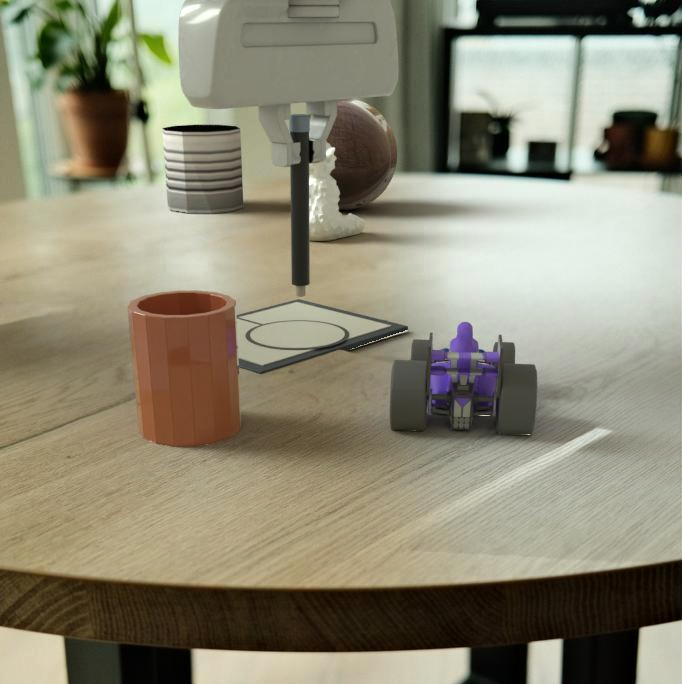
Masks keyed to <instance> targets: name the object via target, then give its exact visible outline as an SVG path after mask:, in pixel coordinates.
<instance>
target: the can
mask: <svg viewBox="0 0 682 684" xmlns="http://www.w3.org/2000/svg"><path fill="white" fill-rule="evenodd" d="M161 129H162V131H161V133H162V143H163V159H164V170H165V173H164V174H165V183H166V184H165V186H166V197H167V198H166V199H167V207H169V208H170V209H169V208H168V209H169V210H170V211H171V210H172V211H171V212H176V211H179V212H178V213H182V212H185V213H184V214H207V215H208V214H220V213H229V212H235V211H238V210H240V209H243V208H244V189H243V188H244V186H243V163H242V162H243V161H242V160H243V159H242V139H241V128H240V127H238V126H236V125H229V124H180V125H172V126H171V125H170V126H166V127H162V128H161Z"/></svg>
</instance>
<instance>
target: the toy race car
mask: <svg viewBox="0 0 682 684" xmlns="http://www.w3.org/2000/svg"><path fill="white" fill-rule="evenodd" d="M433 336H434V333H433V332H429V339H422V338H421V339H420V338H419V339H418V338H414V339H413V340H412V342H411V347H410V348H411V350H410V359H394V361H393V363H392V367H391V375H390V387H389V388H390V389H389V427H390V430H391V429H392V431H403V430H416V431H415V432H424V431H425V430H426V427H427V418H428V416H430V415H434V414H446V415H445V416H447V417H448V419H449V422H450V426H451V430H461V431H463V430H464V431H470V430H471V428H472V425H473V424H472V423H473V420H474V418H476V417H479V416H478V415H491V416H492V418H495V430H497V431H496V433H497V432H498V433H500V434H499V435H503V434H531V435H533V432H534V429H535V422H536V415H537V404H538V403H537V402H538V372H537V371H538V370H537V367H536V365H535V364H533V363H516V344H515V342H514V341H513V342H511V341H503V336H502V334H498V337H497V341H495V342H494V344H493V349H492V351H486V350H484V349H481V348H480V347H479V341H478V340H477V339H475V338H474V329H473V325H472V323H470V322H468V321H461V322H460V323H459V324H458V325H457V327H456V336H455V337H454V338H452V339H451V340H450V341H449V348H448V347H444V348H442V349H433V348H434V347H433V346H434V345H433V339H434V338H433ZM431 413H432V414H431ZM427 415H428V416H427ZM424 429H425V430H424ZM498 433H497V434H498Z"/></svg>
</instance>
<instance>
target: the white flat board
mask: <svg viewBox="0 0 682 684" xmlns="http://www.w3.org/2000/svg"><path fill="white" fill-rule="evenodd" d="M405 330H408V331H409V325H405V324H401V323H396V322H394V321H389V320H384V319H381V318H377V317H373V316H369V315H366V314H365V315H364V314H360V313H356V312H353V311H348V310H344V309H340V308H337V307H331V306H328V305H323V304H320V303H315V302H312V301H308V300H305V299H304V300H303V299H299V298H298V299H293V300H290V301H286V302H282V303H279V304H274V305H271V306H267V307H262V308H259V309H255V310H251V311H247V312H243V313H238V314H237V335H238V357H239V369H243V370H247V371H249V372H252V373H254V374H255V373H256V374H259V375H262V374H265V373H268V372H271V371H275V370H278V369H281V368H284V367H288V366H291V365H294V364H298V363H300V362H304V361H306V360H311V359H313V358H317V357H319V356H323V355H325V354H329V353H333V352H336V351H338V350H341V351H345V352H348V351H347V350H350V349H352V348H356V347H358V346H360V345H364V344H367V343H369V342H372V341H376V340H379V339H381V338H384V337H387V336H390V335H393V334H396V333H399V332H403V331H405Z"/></svg>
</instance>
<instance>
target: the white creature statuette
mask: <svg viewBox="0 0 682 684" xmlns="http://www.w3.org/2000/svg"><path fill="white" fill-rule="evenodd" d="M334 151H335V148H334V147H331V145H330V144H329V143H327V141H326V159H325V161H324V162H319V163H311V164H310V163H309V176H310V177H309V241H315V242H324V241H326V242H328V241H333V240H334V241H336V240H338V239H342V238H346V237H351V236H356V235H360V234H361V232H363V231H364V230H365V227H366V221H365V219H364V218H361V217H359V216H358V215H356V214H353V213H348V214H346V215H345V214H343V213H341V212H340V209H339V207H338V202H339V200H340V198H339V195H340V191H339V189H338V186H337V185H336V180H335V179H333V177H331V175H330V173H331V171H332V170H333V169H334V168H335V160H336V159H337V158H336V156H334Z"/></svg>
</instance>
